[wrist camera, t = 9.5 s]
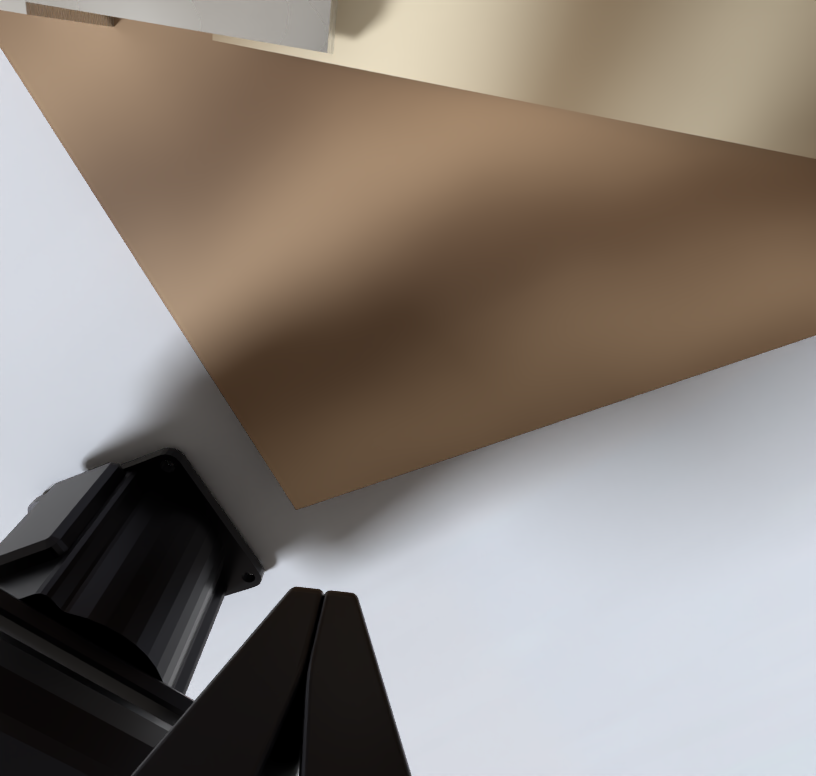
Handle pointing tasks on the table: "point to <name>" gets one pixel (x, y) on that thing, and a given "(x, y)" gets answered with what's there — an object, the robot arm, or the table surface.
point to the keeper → (206, 17)
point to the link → (603, 59)
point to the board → (415, 243)
